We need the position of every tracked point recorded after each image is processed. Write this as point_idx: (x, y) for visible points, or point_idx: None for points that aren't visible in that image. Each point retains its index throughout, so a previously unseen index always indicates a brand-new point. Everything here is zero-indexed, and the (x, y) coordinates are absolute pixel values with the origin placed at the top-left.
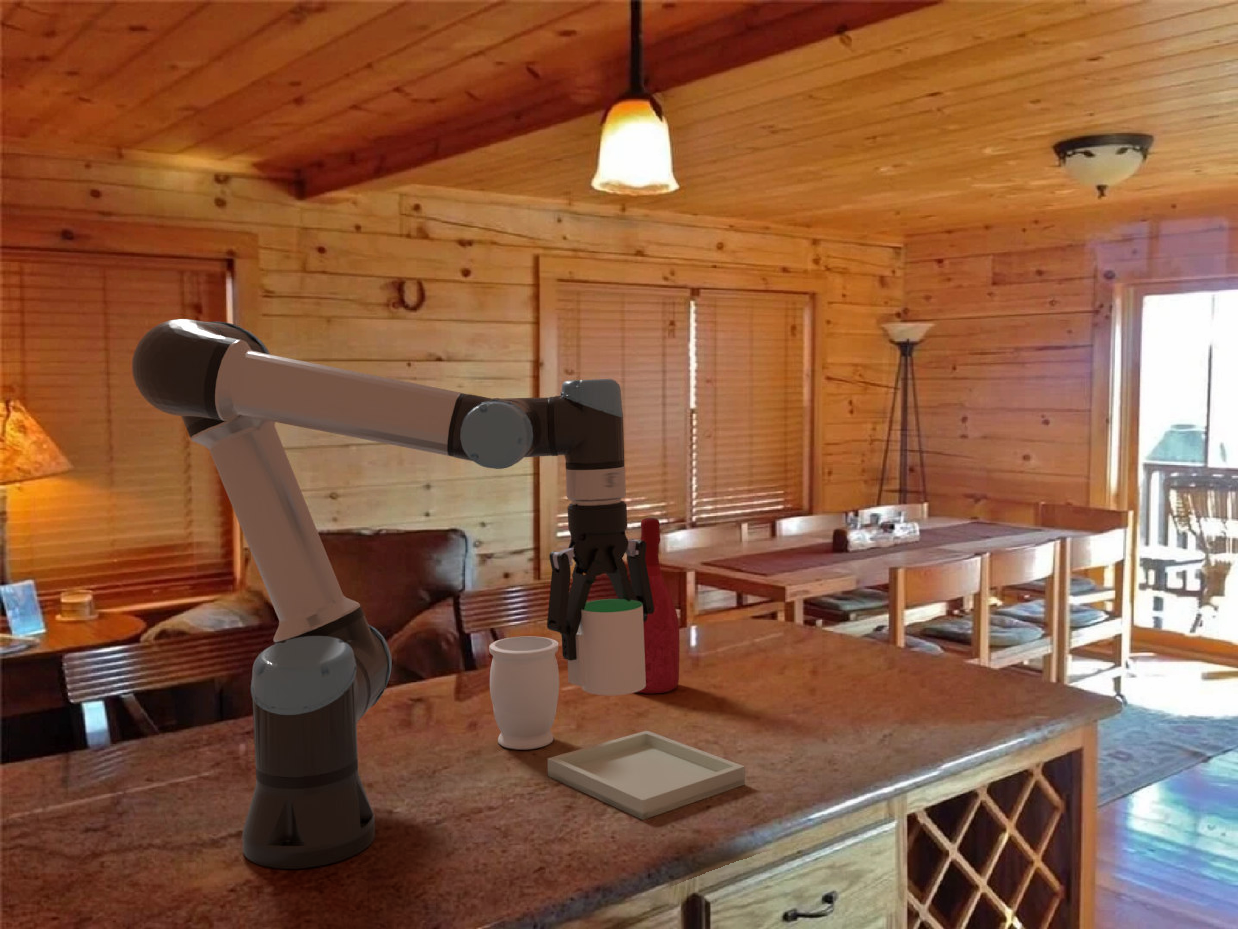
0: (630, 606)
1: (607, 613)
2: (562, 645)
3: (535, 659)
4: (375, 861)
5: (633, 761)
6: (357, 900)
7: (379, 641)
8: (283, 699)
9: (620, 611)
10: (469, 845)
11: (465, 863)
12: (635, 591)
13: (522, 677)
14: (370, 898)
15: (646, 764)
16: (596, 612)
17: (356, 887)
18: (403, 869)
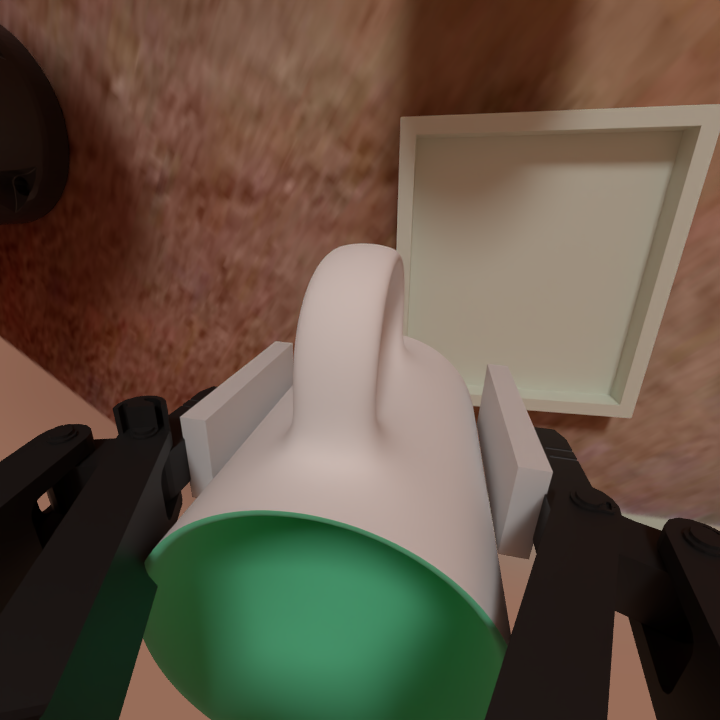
0: (492, 647)
1: (209, 709)
2: (177, 410)
3: None
4: (60, 250)
5: (566, 203)
6: (32, 325)
7: None
8: None
9: None
10: (172, 290)
11: (152, 330)
12: (710, 690)
13: None
14: (44, 330)
15: (568, 236)
16: (170, 677)
17: (34, 297)
18: (86, 293)
